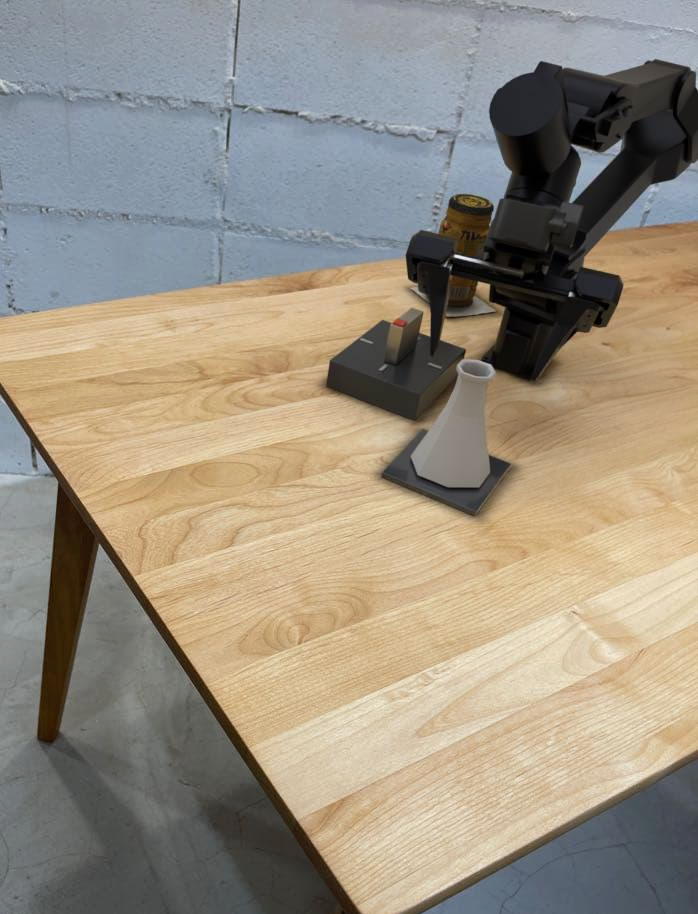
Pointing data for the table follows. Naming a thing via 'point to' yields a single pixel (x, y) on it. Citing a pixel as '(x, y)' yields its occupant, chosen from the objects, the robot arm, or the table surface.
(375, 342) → the panel
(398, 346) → the knob
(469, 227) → the condiment
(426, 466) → the flask
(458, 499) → the coaster
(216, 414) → the table surface
